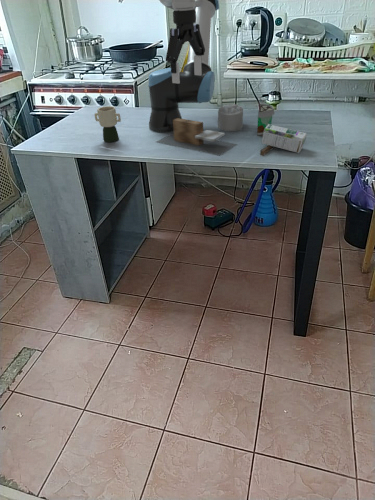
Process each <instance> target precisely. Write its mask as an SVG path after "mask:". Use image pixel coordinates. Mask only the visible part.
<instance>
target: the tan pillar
mask: <svg viewBox="0 0 375 500" xmlns="http://www.w3.org/2000/svg"><path fill="white" fill-rule="evenodd" d="M173 133H174V140H175V141H180V142H185V143H190V144H195V145H201V144H202V143H203V140H207V141H212V142H213V141H215V140H219V139H220V138H221V137H223V136H225V132H220V131H215V130H210V129H206V130H204V122H203V121H198V120H191V119H184V118H182V119H180V118H176V119H174V120H173Z"/></svg>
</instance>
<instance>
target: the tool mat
mask: <svg viewBox="0 0 375 500" xmlns="http://www.w3.org/2000/svg"><path fill="white" fill-rule="evenodd" d="M155 143H157V144H163V145H167V146H172V147H176V148H181V149H187V150H190V151H191V150H192V151H196V152H200V153H205V154H210V155H214V156H221V155H224V153H226V152H228V151H229V150H231V149H232V148H234V147H236V146H238V144H237V143H233V142H227V141H223V140H219V139H217V140H215V141H213V142H212V141H207V140H203V143H202V144H201V145H195V144H190V143H185V142H180V141H175V140H174V132H171V134H169V135H167V136H165V137H163V138H161V139H158V140H156V141H155Z"/></svg>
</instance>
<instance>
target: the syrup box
mask: <svg viewBox="0 0 375 500" xmlns="http://www.w3.org/2000/svg"><path fill="white" fill-rule="evenodd" d="M306 138H307V132H301V131H299V130H294V129H289V128H287V127H283V126H280V125H279V126H278V125H274V124H271V125H270V124H268V125H267V127H266V128H265V129H264V132H263V135H262V138H261V144H263V145H266V146H268V145H270V146H273V147H274V148H279V149H282V150H284V151H285V150H286V151H290V152H293V153H297V154H300V153H301V151H302V149H303V147H304V144H305V142H306Z"/></svg>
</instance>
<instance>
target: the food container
mask: <svg viewBox="0 0 375 500" xmlns="http://www.w3.org/2000/svg"><path fill="white" fill-rule="evenodd" d="M274 115H275V109H274V106H272V105H270V104H265V103H259V109H258V112H257V128H256V129H257V130H256V137H258V136H260V137H261V136H263V132H264V129H265V128H266V127H267V125H268V124H270V125H272V120H273V116H274Z"/></svg>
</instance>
